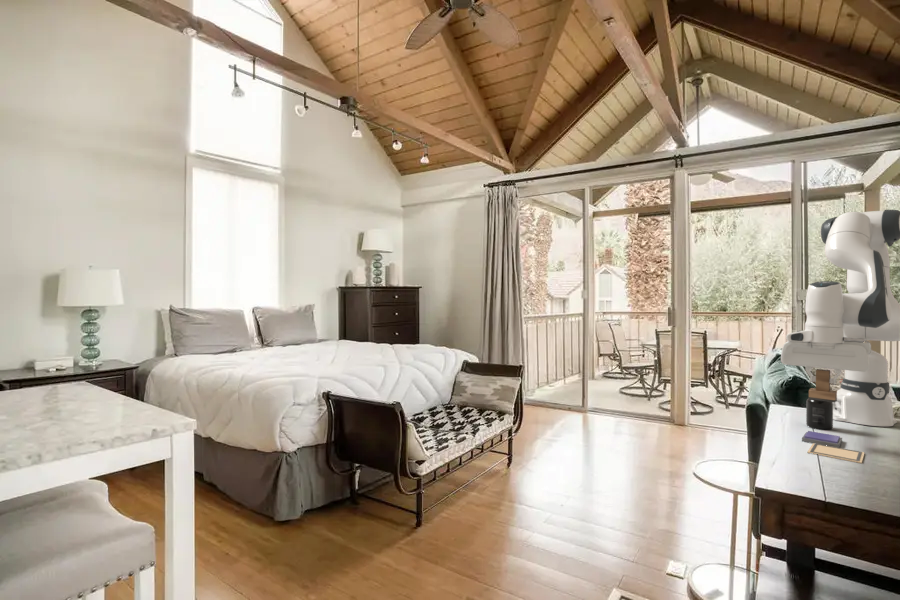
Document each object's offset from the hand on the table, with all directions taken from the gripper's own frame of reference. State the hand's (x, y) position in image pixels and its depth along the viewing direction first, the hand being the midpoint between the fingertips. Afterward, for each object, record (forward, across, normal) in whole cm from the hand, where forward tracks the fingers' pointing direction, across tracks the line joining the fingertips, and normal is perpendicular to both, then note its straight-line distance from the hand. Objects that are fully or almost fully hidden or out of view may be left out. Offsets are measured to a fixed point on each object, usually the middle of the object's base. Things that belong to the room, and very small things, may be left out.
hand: (822, 383), depth 136 cm
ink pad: (+17, 0, 0) cm, 17 cm away
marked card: (+17, -4, +11) cm, 21 cm away
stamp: (+5, 0, 0) cm, 5 cm away
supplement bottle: (+17, +2, -18) cm, 25 cm away
